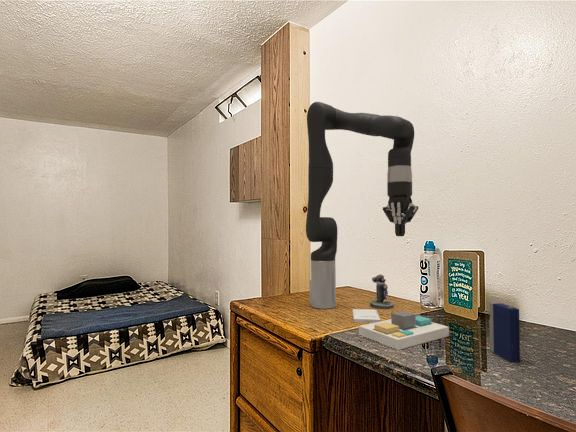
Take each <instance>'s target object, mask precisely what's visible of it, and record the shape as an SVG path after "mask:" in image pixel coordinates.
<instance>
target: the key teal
mask: <svg viewBox="0 0 576 432" xmlns="http://www.w3.org/2000/svg"><path fill="white" fill-rule="evenodd" d="M431 322H432V318H429V317H426V316H422V315H421V316H420V315H416V325H417V326H420V327H422V326H426V325H430V324H431Z"/></svg>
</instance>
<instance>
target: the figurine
mask: <svg viewBox="0 0 576 432" xmlns="http://www.w3.org/2000/svg"><path fill="white" fill-rule="evenodd" d="M371 280H372V282H373V283H375V284H376V287H375V290H376V299H373V300H370V302H369V306H370V308H371V309H372V308H373V309H376V310H377V309H378V310H391V309H393V308H395V303H394V302H393V301H392V300H387V296H388V294H389V292H388V289H389V287H388V284H386V282H387V280H386V279H385V276H384V275H383V274H381V273H380V274H378V275H376V276H373V277H372V278H371Z"/></svg>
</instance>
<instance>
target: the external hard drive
mask: <svg viewBox="0 0 576 432" xmlns="http://www.w3.org/2000/svg"><path fill="white" fill-rule="evenodd" d="M351 312H352V318H353V319H352V320H353V323H376V322H381V318H380V316H379V313H378V311H377V309H367V308H366V309H365V308H364V309H361V308H353V309H352V311H351Z"/></svg>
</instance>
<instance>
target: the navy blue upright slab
mask: <svg viewBox="0 0 576 432" xmlns="http://www.w3.org/2000/svg"><path fill="white" fill-rule="evenodd" d="M488 326H489V351H490V352H492V353H493V354H494V355H496V356H499V357H500V358H503V359H504V360H505V361H508V362H510V363H521V343H520V341H521V337H520V334H521V333H520V309H519V308H517V307H515V306H514V305H508V304H505V303H501V302H498V301H493V302H490V303H489V325H488Z"/></svg>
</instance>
